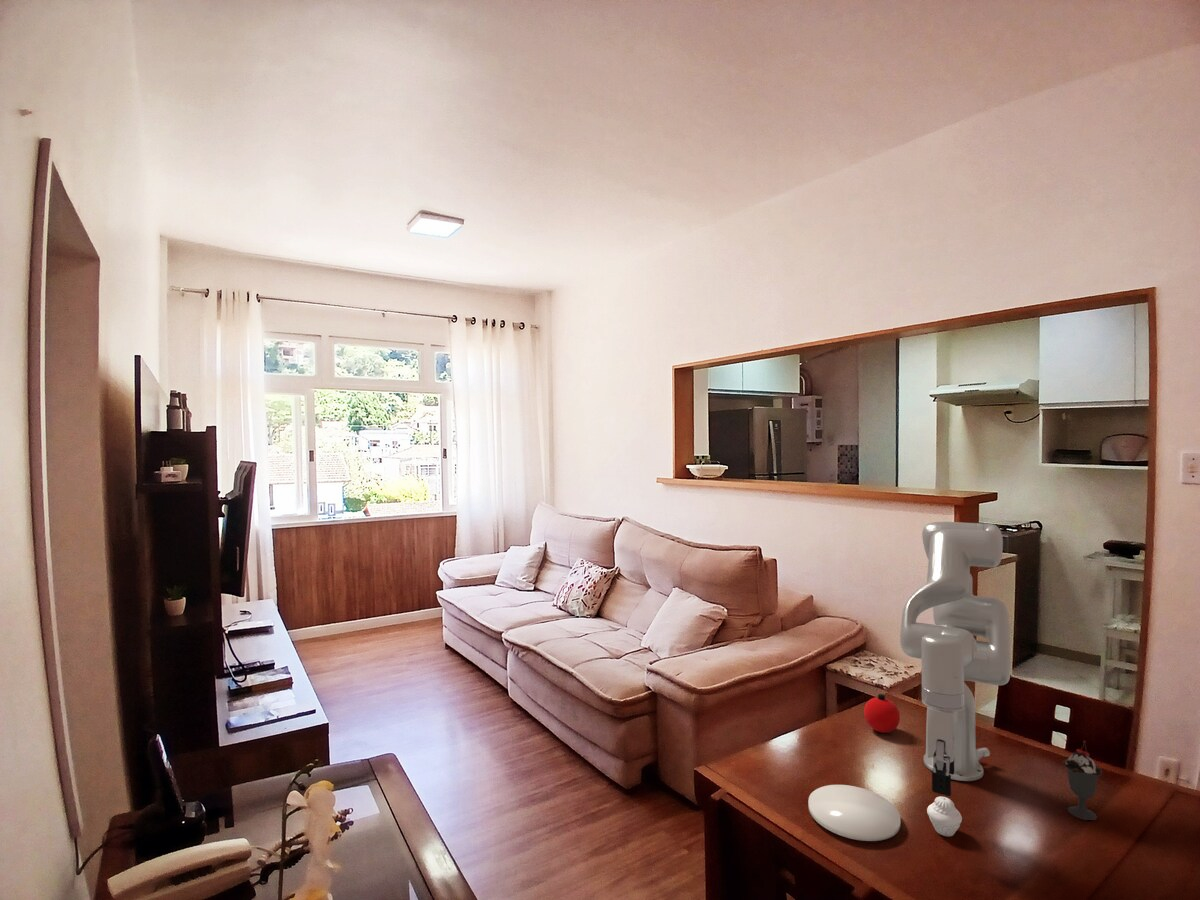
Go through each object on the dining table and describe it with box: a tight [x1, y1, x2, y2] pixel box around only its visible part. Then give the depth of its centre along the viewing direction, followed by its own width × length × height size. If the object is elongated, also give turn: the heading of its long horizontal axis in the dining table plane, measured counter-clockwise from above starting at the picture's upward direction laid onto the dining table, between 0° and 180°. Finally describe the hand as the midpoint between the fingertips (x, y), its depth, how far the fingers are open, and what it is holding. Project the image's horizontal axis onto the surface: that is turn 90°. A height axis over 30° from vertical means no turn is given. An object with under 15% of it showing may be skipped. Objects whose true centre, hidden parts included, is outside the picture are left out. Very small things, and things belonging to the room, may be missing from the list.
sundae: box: [1062, 740, 1103, 821], centre depth 130 cm, size 7×7×15 cm
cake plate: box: [807, 784, 901, 842], centre depth 130 cm, size 18×18×2 cm
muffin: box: [926, 796, 963, 837], centre depth 125 cm, size 6×6×7 cm
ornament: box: [863, 693, 901, 734], centre depth 168 cm, size 9×9×10 cm
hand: (943, 782), depth 124 cm, fingers open, 9 cm apart
